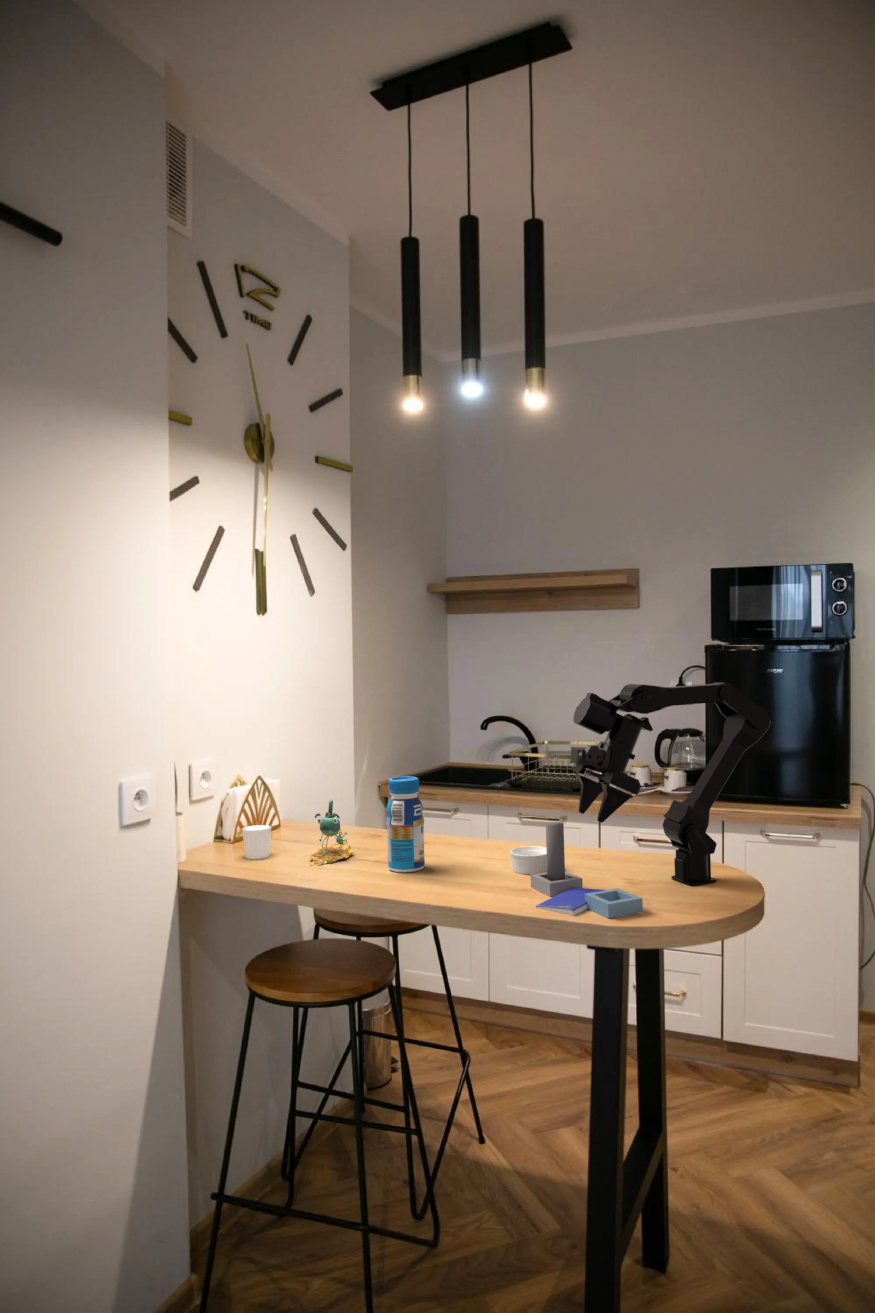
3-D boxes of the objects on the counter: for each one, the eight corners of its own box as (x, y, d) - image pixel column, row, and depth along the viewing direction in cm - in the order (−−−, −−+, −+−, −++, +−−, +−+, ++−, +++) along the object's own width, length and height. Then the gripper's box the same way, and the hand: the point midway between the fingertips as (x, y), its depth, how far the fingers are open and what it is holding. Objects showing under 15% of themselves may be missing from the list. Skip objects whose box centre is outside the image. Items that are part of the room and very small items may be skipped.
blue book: (572, 908, 155) (607, 889, 164) (535, 904, 160) (570, 886, 169) (573, 917, 155) (608, 898, 164) (536, 913, 160) (571, 894, 169)
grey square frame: (562, 882, 176) (562, 870, 176) (582, 891, 170) (582, 878, 170) (531, 887, 173) (530, 875, 173) (550, 896, 167) (549, 883, 167)
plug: (559, 886, 174) (557, 821, 174) (568, 890, 171) (566, 824, 170) (544, 888, 172) (542, 823, 172) (553, 892, 169) (551, 826, 169)
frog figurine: (370, 850, 211) (365, 791, 209) (331, 877, 194) (325, 813, 193) (336, 847, 215) (332, 789, 213) (295, 873, 199) (290, 810, 197)
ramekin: (550, 876, 182) (549, 855, 182) (508, 875, 183) (507, 855, 183) (552, 865, 190) (552, 846, 190) (512, 865, 192) (512, 845, 192)
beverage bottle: (381, 867, 193) (378, 778, 193) (415, 861, 197) (412, 774, 197) (397, 875, 186) (394, 782, 186) (432, 869, 190) (429, 778, 189)
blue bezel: (618, 901, 162) (618, 888, 162) (642, 912, 155) (642, 898, 155) (585, 907, 159) (584, 894, 159) (608, 918, 152) (608, 904, 152)
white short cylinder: (266, 860, 203) (265, 830, 203) (238, 859, 204) (237, 830, 204) (276, 853, 210) (275, 824, 210) (249, 853, 211) (248, 824, 211)
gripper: (567, 724, 178) (538, 794, 177) (604, 732, 160) (572, 810, 159) (612, 744, 180) (584, 814, 179) (655, 755, 162) (624, 832, 161)
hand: (590, 817), depth 169 cm, fingers open, 9 cm apart
